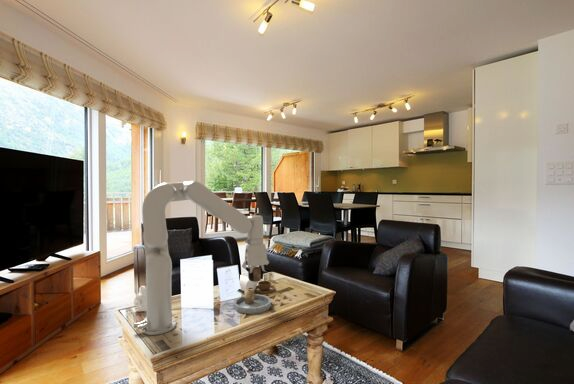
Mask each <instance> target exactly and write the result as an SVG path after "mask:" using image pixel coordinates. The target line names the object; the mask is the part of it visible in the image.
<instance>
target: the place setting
mask: <svg viewBox="0 0 574 384" xmlns="http://www.w3.org/2000/svg"><path fill="white" fill-rule="evenodd" d="M270 288H271V289H272V290H270ZM248 289H252V288H248ZM258 289H259V290H258ZM274 291H276V286H274V285H271V281H269V280H260V281H258V283H257V286H256V289H255V290H254V293H256V294H260V295H265V294H271V293H273V292H274Z"/></svg>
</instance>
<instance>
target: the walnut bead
mask: <svg viewBox="0 0 574 384" xmlns="http://www.w3.org/2000/svg"><path fill="white" fill-rule="evenodd" d="M252 273H253V282H257V281H258V282H260V281H262V279H261V267H259V266H255V267H253V270H252Z"/></svg>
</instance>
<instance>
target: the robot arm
mask: <svg viewBox="0 0 574 384" xmlns="http://www.w3.org/2000/svg"><path fill="white" fill-rule="evenodd" d="M181 201H192V202H193V203H194V204H195V205H197V206H198V207H199V208H201V209H203V210H204V211H205V212H206V213H208V214H210V215H211V216H212V217H214V218H216V219H219V220H221V221H223V222H224V223H225V224H227V225H228V226H230V228H231V229H232V231H234V232H237V233H240V234H241V235H242V234H247V238H246V239H245V240H244V244H246V245H245V251H244V260H243V263H242V264H241V268H243V269H244V270H246V271H247V272H248V274H247V277H248V278H249V280H250V281H253V273H252V270H253V267H255V266H258V267H261V280H263V279H264V271H265V269H266V267H267V266H268V265H269V264H270V261H269V259H268V253H267V252H268V251H267V248H266V243H264V218H263V216H262V215H256V214H255V215H249V216H248V215H245V214H244V213H243V212H241V211H240V210H238V209H237V208H235V207H234V206H233V205H231V204H230V203H228V202H227V201H225V200H224V199H223V198H221V197H220V196H218V195H217V194H216V193H214V192H213V191H212V190H211V189H209V188H208V187H207V186H205V185H204V184H202V183H201V182H200V181H198V180H189V181H181V182H161V183H160V184H158V185H156V186H155V187H154V188H152V189H151V190H150V191H148V193H147V194H146V196H145V198H144V199H143V203H142V207H141V209H142V211H141V212H142V225H143V232H142V239H143V246H144V247H143V249H144V257H145V287H146V307H147V312H146V316H145V317H144V320H142V321H139V322H138V321H137V322H133V329H137V330H140V329H141V330H142V333H143V334H145V335H148V336H156V335H162V334H166V333H168V332H170V331H172V330H173V329H175V328H176V324H177V323H176V320H175V319H173V314H172V313H173V310H172V307H173V305H172V303H173V302H172V299H173V298H172V296H173V295H172V274H173V273H172V271H173V262H172V258H171V256H170V252H169V244H168V242H169V241H168V239H169V234H168V228H167V220H166V208H167V206H168V204H169V203H171V202H172V203H173V202H181Z"/></svg>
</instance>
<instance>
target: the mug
mask: <svg viewBox="0 0 574 384" xmlns="http://www.w3.org/2000/svg"><path fill="white" fill-rule="evenodd" d="M239 275H240V286H241V290H240V291H243V292H245V290H246V289H248V288H252V289H253V290H255V289H256V286H258V283H259V281H257V282H253V281H250V280H249V278H248V275H243V274H239ZM256 290H257V289H256Z"/></svg>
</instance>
